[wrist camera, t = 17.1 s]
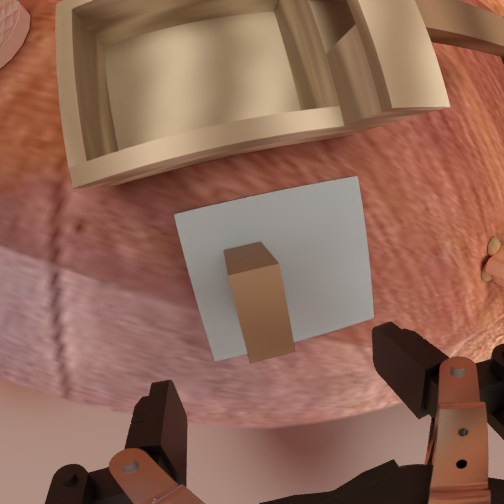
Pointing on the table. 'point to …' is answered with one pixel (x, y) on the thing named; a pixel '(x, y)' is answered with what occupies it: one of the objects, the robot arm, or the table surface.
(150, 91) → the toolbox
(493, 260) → the grandmother figurine
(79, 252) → the table surface
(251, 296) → the lid
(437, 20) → the bar
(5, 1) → the white cup
